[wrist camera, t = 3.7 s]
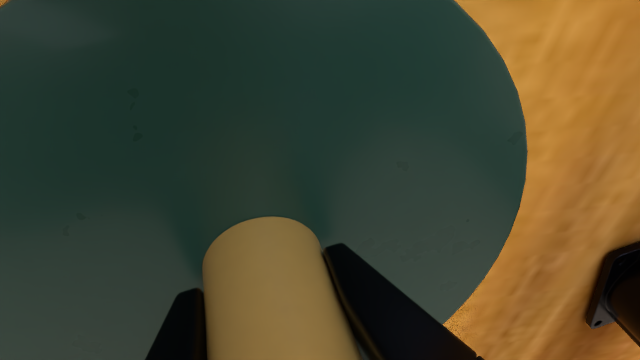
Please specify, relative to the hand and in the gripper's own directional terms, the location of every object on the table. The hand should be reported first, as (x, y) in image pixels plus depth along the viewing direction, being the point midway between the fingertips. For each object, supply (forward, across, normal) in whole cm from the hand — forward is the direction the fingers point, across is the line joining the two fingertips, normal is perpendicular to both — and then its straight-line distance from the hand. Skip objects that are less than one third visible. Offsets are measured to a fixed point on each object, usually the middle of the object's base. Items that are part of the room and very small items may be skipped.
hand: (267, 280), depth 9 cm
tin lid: (+1, 0, 0) cm, 1 cm away
